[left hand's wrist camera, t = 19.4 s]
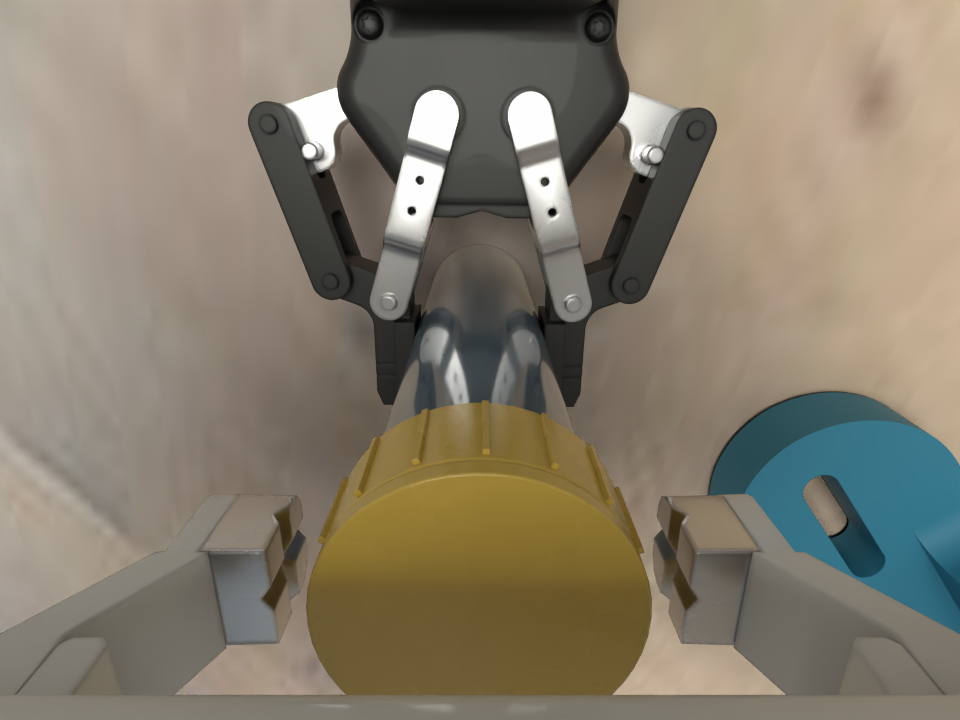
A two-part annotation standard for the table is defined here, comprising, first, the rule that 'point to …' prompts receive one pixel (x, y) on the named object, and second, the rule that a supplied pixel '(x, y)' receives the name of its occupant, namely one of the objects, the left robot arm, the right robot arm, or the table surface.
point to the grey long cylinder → (479, 342)
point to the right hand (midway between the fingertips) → (479, 410)
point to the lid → (479, 563)
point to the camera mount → (858, 494)
